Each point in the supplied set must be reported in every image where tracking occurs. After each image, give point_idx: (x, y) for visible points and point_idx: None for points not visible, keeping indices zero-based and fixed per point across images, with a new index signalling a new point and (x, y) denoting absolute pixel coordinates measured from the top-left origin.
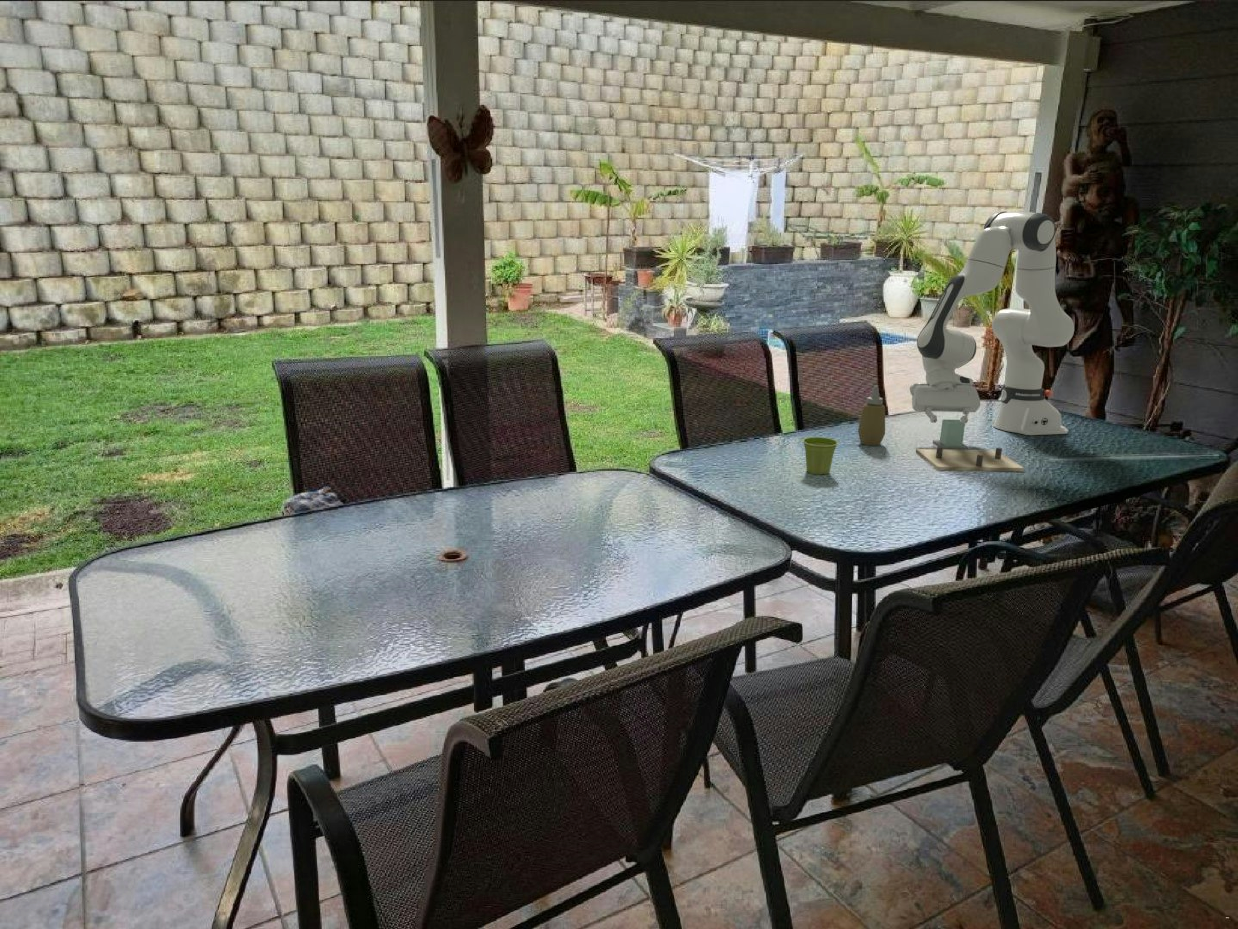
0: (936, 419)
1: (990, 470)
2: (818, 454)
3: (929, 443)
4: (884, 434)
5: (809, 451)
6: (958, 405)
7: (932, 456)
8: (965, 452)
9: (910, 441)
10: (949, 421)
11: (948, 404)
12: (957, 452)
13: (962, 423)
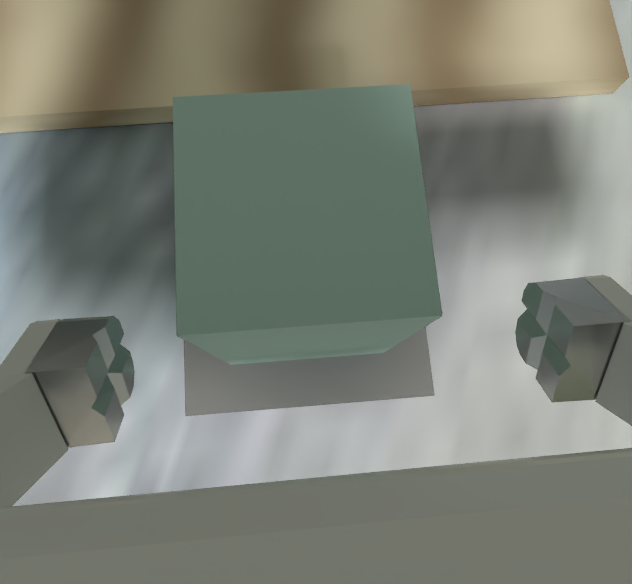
0: (544, 281)
1: None
2: None
3: (460, 373)
4: None
5: None
6: (56, 511)
7: None
8: (265, 29)
9: (620, 421)
10: (364, 201)
11: (374, 506)
12: (328, 21)
13: (205, 107)
